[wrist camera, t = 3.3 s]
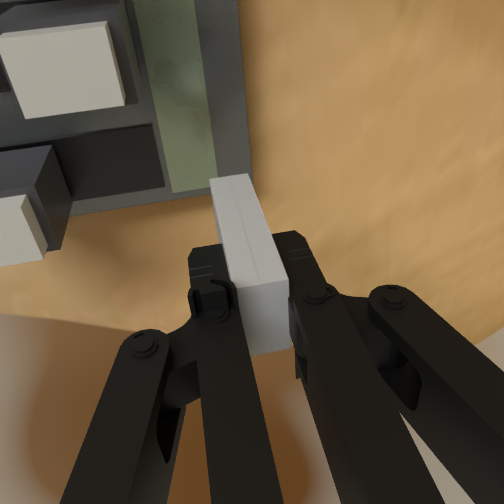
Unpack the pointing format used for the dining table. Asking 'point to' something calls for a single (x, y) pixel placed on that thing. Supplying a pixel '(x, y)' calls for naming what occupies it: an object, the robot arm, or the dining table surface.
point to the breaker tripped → (31, 204)
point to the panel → (152, 113)
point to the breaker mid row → (69, 56)
